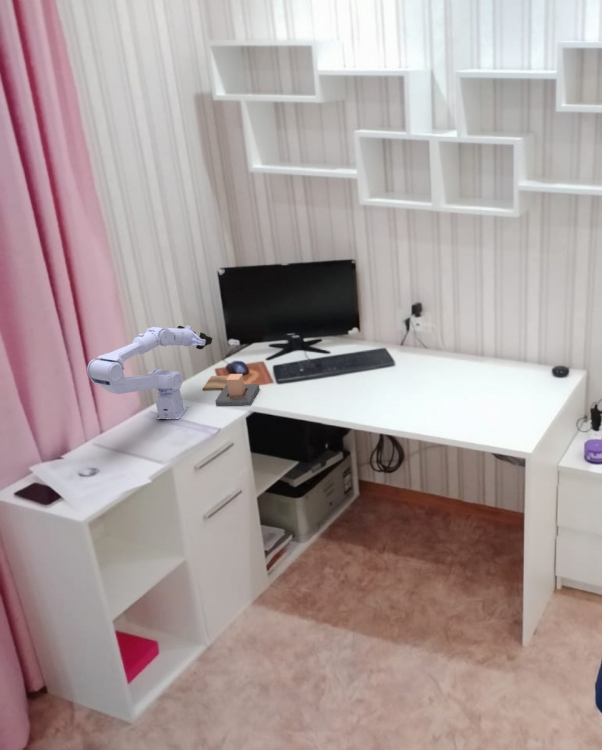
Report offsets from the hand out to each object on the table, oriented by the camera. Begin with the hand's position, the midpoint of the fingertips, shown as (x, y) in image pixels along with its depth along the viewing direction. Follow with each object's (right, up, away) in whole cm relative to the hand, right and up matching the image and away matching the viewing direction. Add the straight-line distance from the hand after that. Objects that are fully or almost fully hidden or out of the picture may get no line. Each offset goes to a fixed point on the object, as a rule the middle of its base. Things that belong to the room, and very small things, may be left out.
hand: (202, 337), depth 303 cm
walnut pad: (+5, -16, +8) cm, 19 cm away
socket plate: (+13, -21, -5) cm, 25 cm away
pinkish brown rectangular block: (+13, -21, -5) cm, 25 cm away
